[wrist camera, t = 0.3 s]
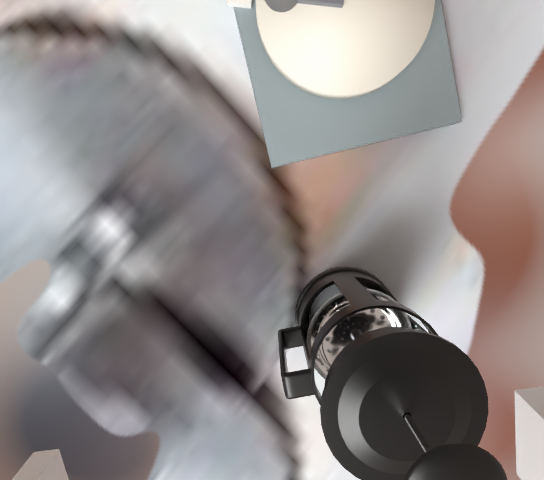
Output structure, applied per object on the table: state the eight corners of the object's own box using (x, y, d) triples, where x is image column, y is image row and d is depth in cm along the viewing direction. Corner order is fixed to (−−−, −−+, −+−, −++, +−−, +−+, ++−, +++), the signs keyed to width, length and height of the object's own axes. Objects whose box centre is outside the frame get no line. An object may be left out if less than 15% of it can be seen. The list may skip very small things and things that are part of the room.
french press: (392, 257, 37) (588, 359, 15) (407, 351, 39) (610, 584, 16) (269, 280, 38) (271, 418, 15) (287, 374, 39) (316, 636, 16)
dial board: (204, -89, 34) (200, -108, 32) (408, -141, 33) (418, -164, 31) (266, 169, 36) (266, 168, 34) (455, 123, 36) (467, 119, 34)
